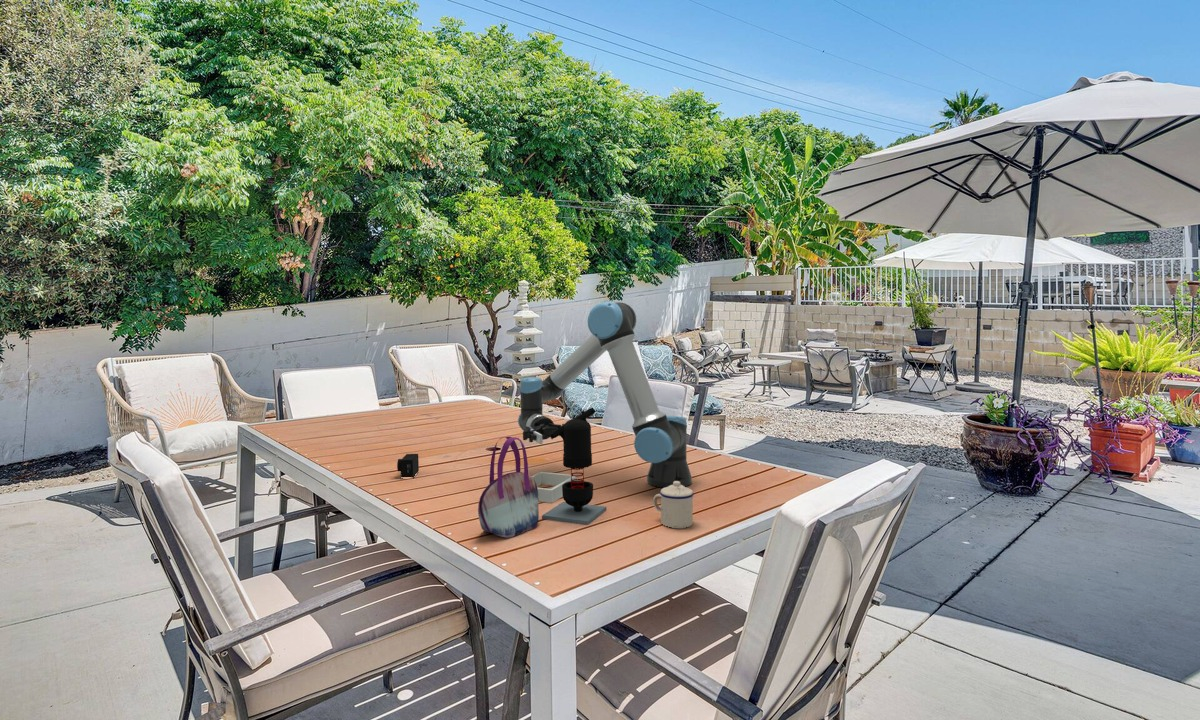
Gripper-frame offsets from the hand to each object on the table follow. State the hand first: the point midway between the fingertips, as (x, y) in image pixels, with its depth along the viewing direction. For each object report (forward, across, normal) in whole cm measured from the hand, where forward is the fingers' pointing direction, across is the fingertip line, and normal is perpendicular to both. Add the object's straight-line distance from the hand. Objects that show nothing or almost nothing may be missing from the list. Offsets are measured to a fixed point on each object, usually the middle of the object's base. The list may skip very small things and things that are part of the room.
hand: (562, 437), depth 187 cm
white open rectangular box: (-14, +1, -20) cm, 24 cm away
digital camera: (-56, +39, -20) cm, 71 cm away
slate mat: (+11, +1, -20) cm, 23 cm away
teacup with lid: (+29, -21, -21) cm, 41 cm away
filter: (+11, +1, -20) cm, 23 cm away
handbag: (+16, +21, -21) cm, 33 cm away
